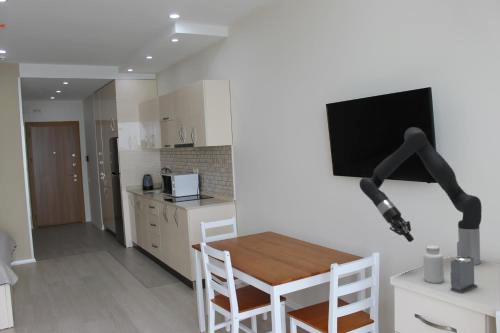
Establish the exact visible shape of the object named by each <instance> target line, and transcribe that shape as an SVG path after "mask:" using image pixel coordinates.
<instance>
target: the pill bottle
mask: <svg viewBox="0 0 500 333" xmlns="http://www.w3.org/2000/svg"><path fill="white" fill-rule="evenodd" d="M425 250H426V252H424V254H423V255H422V256H423V277H424V281H425V282H427V283H432V284H439V283H440V284H441V283H443V282H444V279H445V277H444V276H445V274H444V273H445V271H444V270H445V268H444V255H443V254H442V252H440V246H438V245H427V246H425Z"/></svg>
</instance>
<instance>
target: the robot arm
mask: <svg viewBox="0 0 500 333" xmlns="http://www.w3.org/2000/svg"><path fill="white" fill-rule="evenodd" d="M403 138H404V142H403V143H402V144H401V146H400V147H399V148H398V149H397V150H395V151H394V152H393V153H391V154H390V155H389V156H387V157H385V159H383V160H382V161H381V162H380V163H379V164H378V165H377V166H376V167H375V169H374V170H373V174H372V175H371V177H363V178H362V179H360V180H359V188H360V190H361V192H362V193H364V194H365V196H367V198H369V200H371V201H372V203H373V204H374V206H375V207H376V208H377V210H378V212H379V213H380V215H381V216H382V217H383V219H384V220H385V221H386V222H387V223H388V224H389V225H390V226H389V230H391V231H392V232H394V233H395V234H397V235H399V236H403V237H404V238H405V239H406V240H407V241H408V243H410V242H411V243H412V242H414V240H415V239H414V236H413V235H412V234H411V233H410V232H411V231H412V227H411V222H410V221H409V220H408V221H406V220H405V218H403V217H402V213H401V212H400V211H399V209H398V208H397V207H396V205H395V204H394V203H393V201H391V200H390V198H389V197H388V196H387V195H386V194H385V192H384V191H381V189H380V188H381V187H382V185H383V184H384V182H385V180H386V179H387V178H388V177H389V176H390V175H392V173H393V172H394V171H395V170H396V169H397V168H398V167H400V165H402V163H403V162H405V161H406V160H407V159H409V158H410V157H411V156H412V155H413V154H415V153H416V154H417V155H418V156H419V158H420V160H421V162H422V163H423V165H424V167H425V168H426V170H427V171H428V173H429V174H430V176H431V177H432V178H433V179H434V181H435V182H437V184H438V185H439V186H440V188H441V189H442V190H443V191H444V192H445V193H446V195H447V196H448V198H449V200H450V201H451V203H452V204H453V206H454V208H455V209H456V210H457V211H458V212H460V213H462V219H461V220H459V221H457V222H458V223H457V228H458V229H457V230H458V231H457V233H458V235H457V237H458V241H457V243H456V256H467V257H472V258H474V266H477V265H480V264H481V243H480V242H481V238H480V225H481V223H482V212H483V211H482V208H483V207H482V201H481V200H480V198H479V197H477V196H476V195H471V194H468V193H466V192H465V190H464V189H462V188H461V185H459V183H458V181H457V176H456V173H455V172H454V169H453V168H452V167H451V166H450V164H449V163H448V162H447V161H446V159H445V158H444V157H443V156H442V155H441V154H440V153H439V152H438V151H437V150H436V149H435V148H434V147H433V146H432V145H431V143H430V142H429V140H428V139H427V135H426V134H425V132H424V131H423V130H422V129H421V128H419V127H413V126H412V127H411V126H410V127H408V128H407V129H406V130H405V132H404V135H403Z"/></svg>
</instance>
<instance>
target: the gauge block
mask: <svg viewBox="0 0 500 333" xmlns="http://www.w3.org/2000/svg"><path fill="white" fill-rule="evenodd" d="M453 258H454V260H450V273H449V274H450V275H449V276H450V285H451V286H450V291H452V292H455V293H460V294H462V295H463V294H465V293H467V292H469V291H472V290H474V289H476V288H478V284H475V265H474V258H472V257H467V256H457V255H455V256H453Z"/></svg>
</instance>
